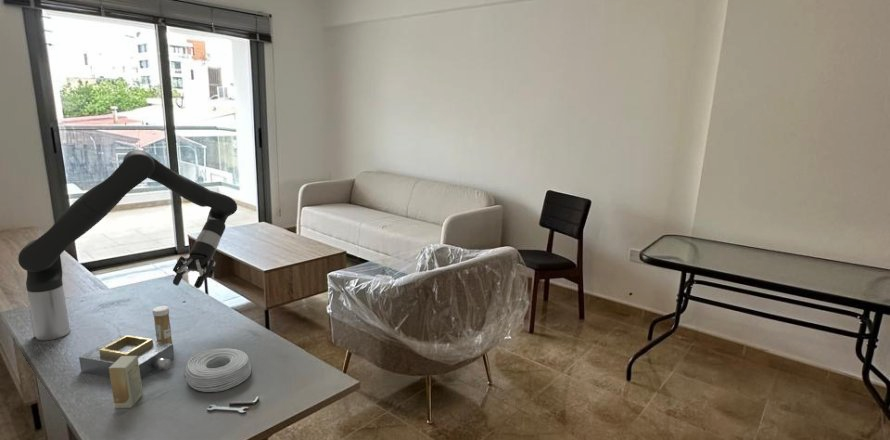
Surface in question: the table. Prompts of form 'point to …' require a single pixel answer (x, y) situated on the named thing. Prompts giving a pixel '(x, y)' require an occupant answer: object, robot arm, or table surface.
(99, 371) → the grey block with recess
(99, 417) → the table surface
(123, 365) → the skincare box
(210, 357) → the cable
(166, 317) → the sprinkles bottle
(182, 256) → the robot arm
